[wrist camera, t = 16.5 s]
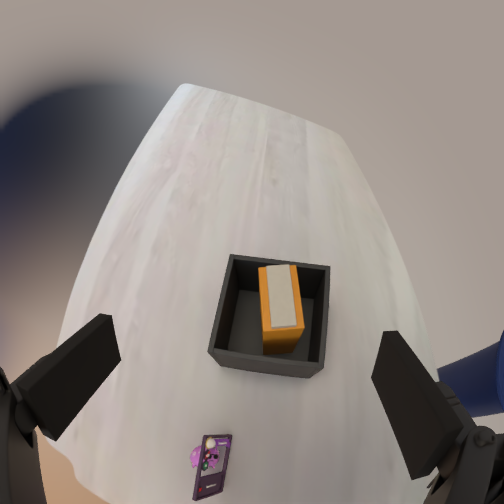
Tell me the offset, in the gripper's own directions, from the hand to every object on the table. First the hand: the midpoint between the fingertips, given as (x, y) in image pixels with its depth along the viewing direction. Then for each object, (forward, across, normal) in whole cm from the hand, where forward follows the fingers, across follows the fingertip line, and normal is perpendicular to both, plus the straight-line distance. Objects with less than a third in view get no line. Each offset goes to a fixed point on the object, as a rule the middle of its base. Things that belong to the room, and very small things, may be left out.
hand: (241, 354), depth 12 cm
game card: (+11, -5, -26) cm, 29 cm away
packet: (+24, +2, -12) cm, 27 cm away
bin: (+24, +2, -12) cm, 27 cm away
